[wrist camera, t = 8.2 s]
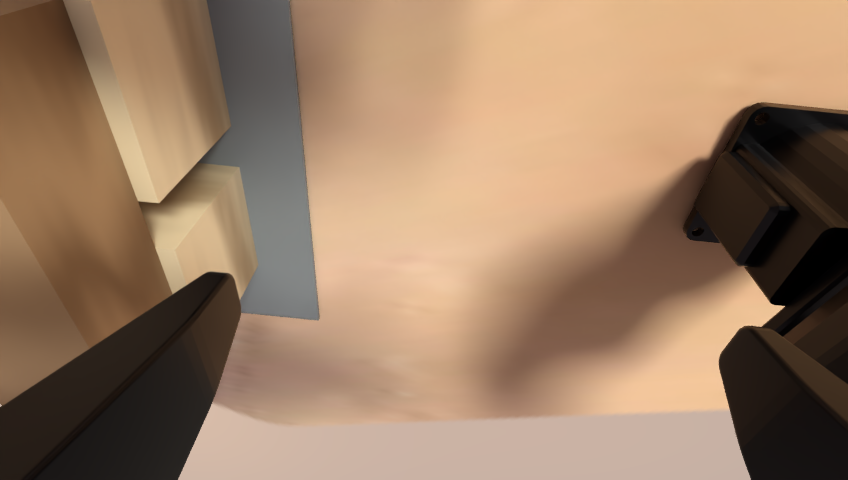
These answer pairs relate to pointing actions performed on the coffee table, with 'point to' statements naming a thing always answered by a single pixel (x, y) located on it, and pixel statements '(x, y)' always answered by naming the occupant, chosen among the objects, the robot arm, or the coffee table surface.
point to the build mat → (266, 151)
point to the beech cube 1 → (154, 84)
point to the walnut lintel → (61, 205)
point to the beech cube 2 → (203, 227)
